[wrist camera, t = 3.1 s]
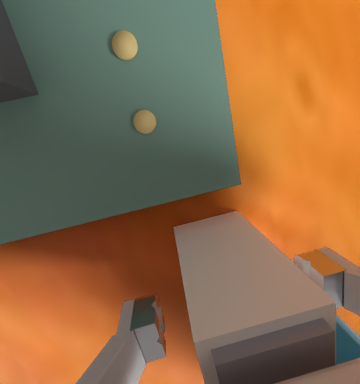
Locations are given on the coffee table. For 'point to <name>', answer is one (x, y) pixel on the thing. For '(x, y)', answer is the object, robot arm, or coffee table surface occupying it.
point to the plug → (251, 305)
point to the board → (109, 110)
